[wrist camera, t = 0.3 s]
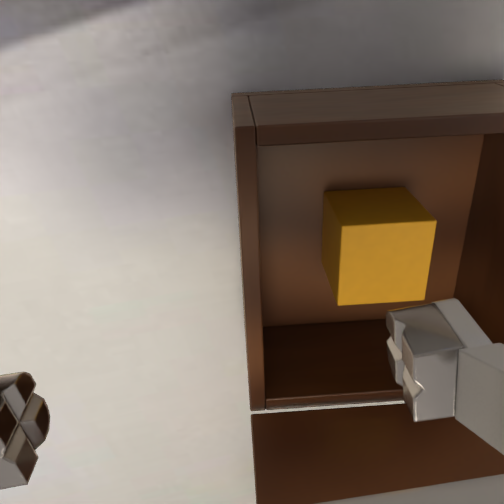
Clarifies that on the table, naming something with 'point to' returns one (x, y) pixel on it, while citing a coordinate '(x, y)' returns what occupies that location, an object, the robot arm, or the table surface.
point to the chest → (354, 178)
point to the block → (376, 245)
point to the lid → (361, 453)
